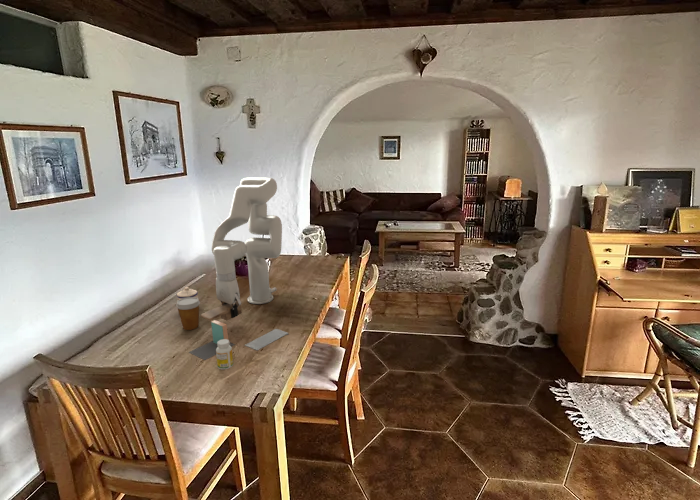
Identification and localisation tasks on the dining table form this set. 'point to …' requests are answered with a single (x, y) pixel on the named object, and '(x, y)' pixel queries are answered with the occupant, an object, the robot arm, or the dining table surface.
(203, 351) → the mat
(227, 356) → the supplement bottle
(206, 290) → the dining table surface
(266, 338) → the rest
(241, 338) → the dining table surface
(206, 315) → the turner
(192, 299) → the disposable coffee cup
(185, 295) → the teacup with lid
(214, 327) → the tile
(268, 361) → the dining table surface
